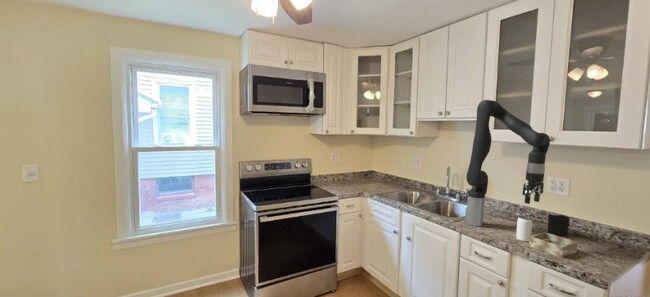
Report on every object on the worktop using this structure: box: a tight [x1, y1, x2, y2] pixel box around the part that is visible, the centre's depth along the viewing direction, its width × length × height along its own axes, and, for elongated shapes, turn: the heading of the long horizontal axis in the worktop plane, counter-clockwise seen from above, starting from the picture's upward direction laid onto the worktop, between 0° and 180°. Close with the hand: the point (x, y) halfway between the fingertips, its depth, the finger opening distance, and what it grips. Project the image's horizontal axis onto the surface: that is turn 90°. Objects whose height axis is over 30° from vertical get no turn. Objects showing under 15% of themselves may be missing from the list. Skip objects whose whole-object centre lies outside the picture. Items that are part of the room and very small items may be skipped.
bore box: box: [528, 231, 578, 259], centre depth 141 cm, size 14×14×5 cm
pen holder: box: [547, 213, 570, 237], centre depth 162 cm, size 9×9×10 cm
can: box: [515, 215, 533, 243], centre depth 152 cm, size 6×6×12 cm
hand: (531, 202), depth 148 cm, fingers open, 8 cm apart
